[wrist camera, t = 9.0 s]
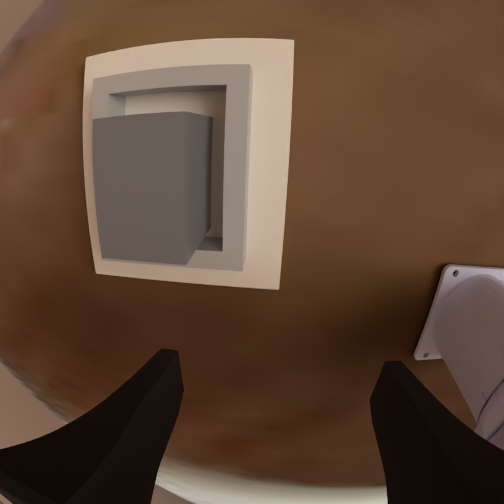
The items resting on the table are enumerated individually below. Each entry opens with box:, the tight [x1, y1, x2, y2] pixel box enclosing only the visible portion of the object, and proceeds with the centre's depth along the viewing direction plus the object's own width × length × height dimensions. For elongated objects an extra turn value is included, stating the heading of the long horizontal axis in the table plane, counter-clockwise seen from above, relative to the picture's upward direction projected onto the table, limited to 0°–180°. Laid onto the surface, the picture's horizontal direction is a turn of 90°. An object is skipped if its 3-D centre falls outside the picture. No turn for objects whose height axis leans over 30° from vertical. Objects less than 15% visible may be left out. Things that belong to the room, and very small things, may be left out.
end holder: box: [83, 38, 294, 290], centre depth 15 cm, size 12×14×3 cm
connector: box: [93, 111, 213, 265], centre depth 14 cm, size 4×6×5 cm, turn 177°
